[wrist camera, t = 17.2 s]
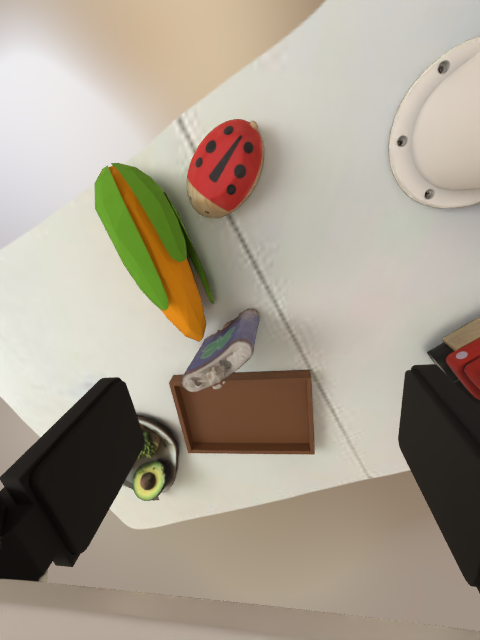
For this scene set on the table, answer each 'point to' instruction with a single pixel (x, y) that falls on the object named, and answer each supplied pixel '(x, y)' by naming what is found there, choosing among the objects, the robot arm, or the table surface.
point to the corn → (152, 244)
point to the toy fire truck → (461, 359)
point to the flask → (222, 353)
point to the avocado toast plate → (154, 462)
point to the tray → (248, 414)
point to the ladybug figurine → (225, 168)
